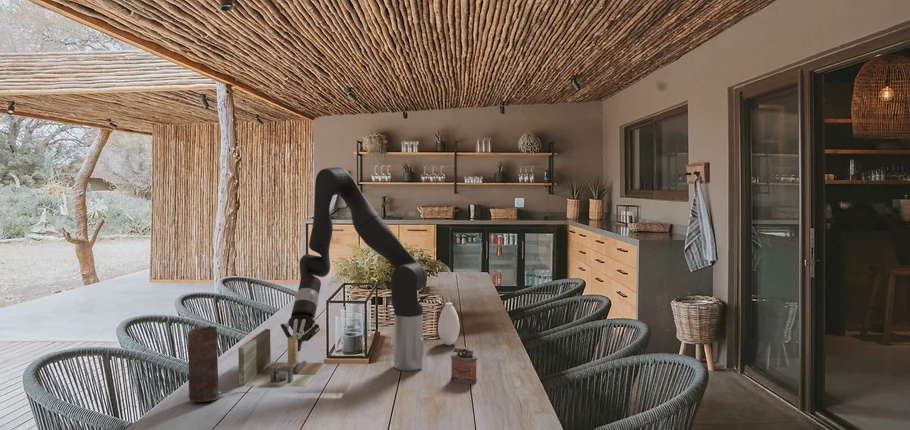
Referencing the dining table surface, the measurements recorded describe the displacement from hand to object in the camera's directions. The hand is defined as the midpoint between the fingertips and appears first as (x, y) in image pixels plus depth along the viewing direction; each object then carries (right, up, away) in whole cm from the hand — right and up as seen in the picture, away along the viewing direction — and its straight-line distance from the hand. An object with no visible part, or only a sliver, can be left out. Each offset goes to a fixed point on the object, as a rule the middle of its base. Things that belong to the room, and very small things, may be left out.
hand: (294, 351), depth 182 cm
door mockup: (-1, -7, -5) cm, 8 cm away
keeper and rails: (0, -5, -5) cm, 7 cm away
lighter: (+53, -7, -8) cm, 54 cm away
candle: (-18, -8, -25) cm, 31 cm away
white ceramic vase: (+48, -5, +33) cm, 58 cm away
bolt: (0, -5, -6) cm, 8 cm away
